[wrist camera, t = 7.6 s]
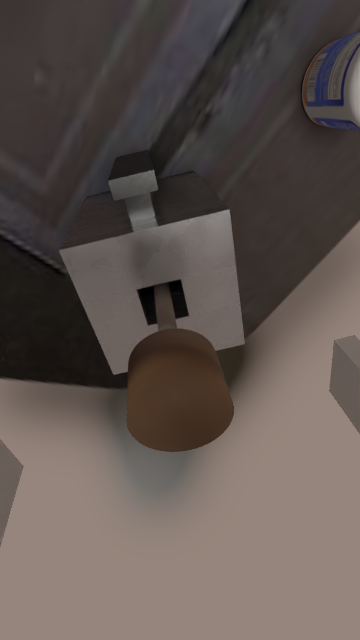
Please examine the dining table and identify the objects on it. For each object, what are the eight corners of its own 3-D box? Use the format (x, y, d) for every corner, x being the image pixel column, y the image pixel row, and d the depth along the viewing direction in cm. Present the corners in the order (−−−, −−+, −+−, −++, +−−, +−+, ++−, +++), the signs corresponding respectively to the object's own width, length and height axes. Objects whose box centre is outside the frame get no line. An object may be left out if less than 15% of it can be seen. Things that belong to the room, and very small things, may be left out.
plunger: (128, 288, 29) (121, 484, 14) (103, 215, 25) (59, 375, 10) (199, 271, 29) (271, 449, 14) (186, 195, 25) (262, 327, 10)
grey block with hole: (120, 290, 32) (113, 374, 22) (75, 165, 25) (38, 203, 15) (209, 268, 31) (244, 344, 22) (188, 137, 25) (223, 158, 15)
